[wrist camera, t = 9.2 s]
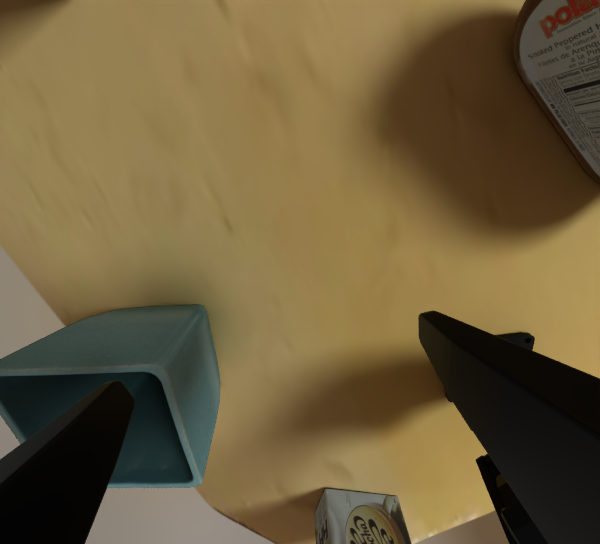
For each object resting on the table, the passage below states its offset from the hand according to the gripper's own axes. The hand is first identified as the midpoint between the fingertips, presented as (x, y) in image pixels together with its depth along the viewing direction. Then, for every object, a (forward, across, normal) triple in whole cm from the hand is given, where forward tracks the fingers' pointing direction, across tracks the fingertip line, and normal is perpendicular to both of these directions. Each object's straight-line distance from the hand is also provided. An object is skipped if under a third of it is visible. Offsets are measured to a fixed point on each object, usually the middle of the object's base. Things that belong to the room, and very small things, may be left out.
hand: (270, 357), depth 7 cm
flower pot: (+12, +10, +6) cm, 16 cm away
